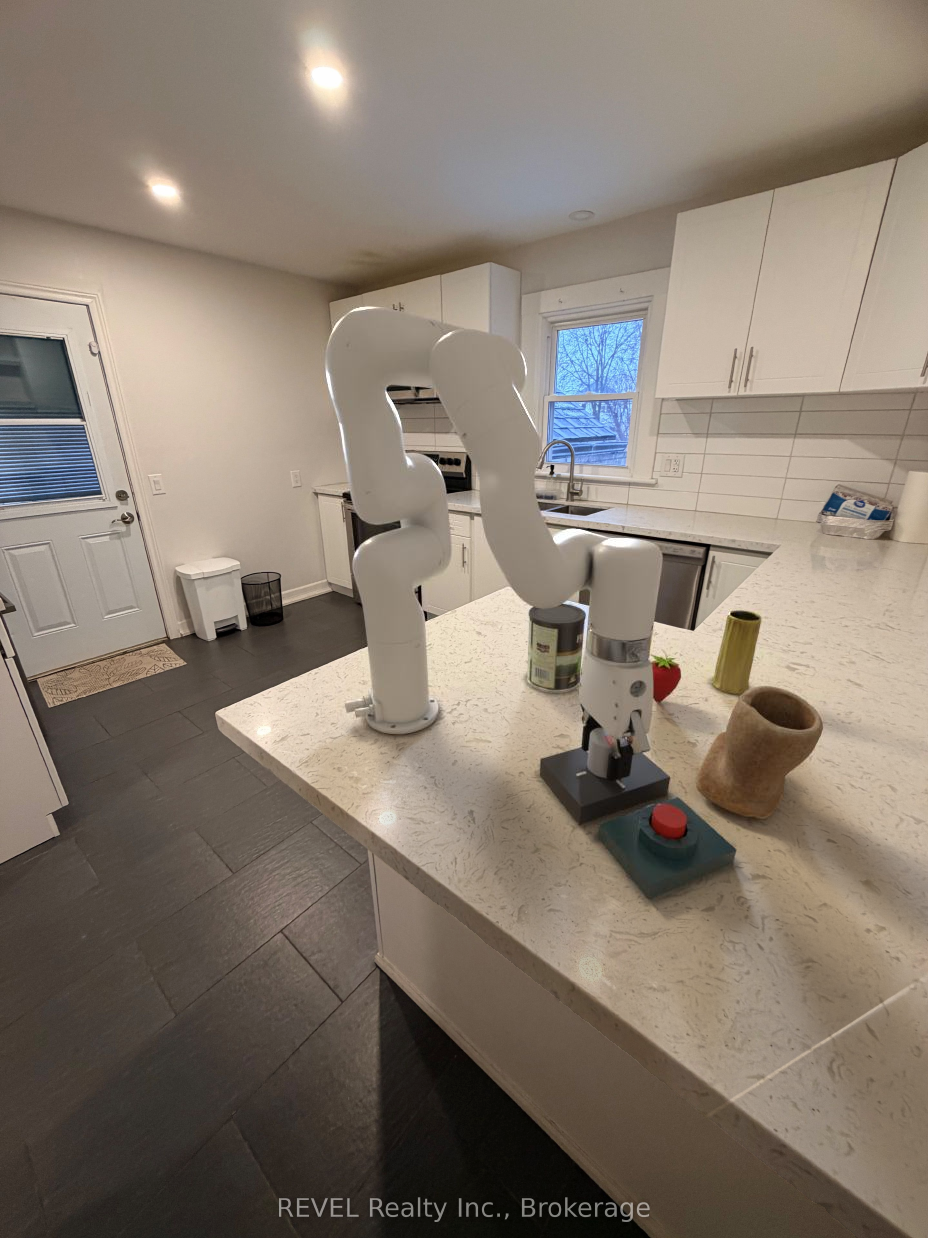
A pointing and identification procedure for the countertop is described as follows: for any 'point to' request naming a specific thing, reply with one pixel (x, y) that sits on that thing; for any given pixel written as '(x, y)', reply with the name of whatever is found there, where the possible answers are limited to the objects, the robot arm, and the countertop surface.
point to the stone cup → (758, 751)
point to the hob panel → (600, 785)
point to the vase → (737, 652)
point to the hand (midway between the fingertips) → (604, 761)
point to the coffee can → (555, 648)
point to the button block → (665, 849)
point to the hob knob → (600, 751)
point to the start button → (668, 821)
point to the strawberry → (664, 677)
